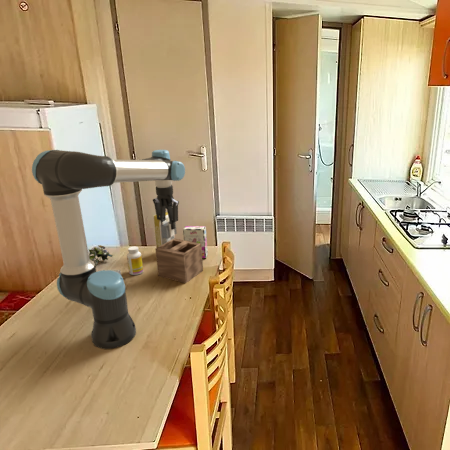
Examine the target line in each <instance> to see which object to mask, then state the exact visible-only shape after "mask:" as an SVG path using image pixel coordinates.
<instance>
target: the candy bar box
mask: <svg viewBox="0 0 450 450" xmlns="http://www.w3.org/2000/svg"><path fill="white" fill-rule="evenodd" d="M182 231H183V233H182V235H183V240H185V241H190V242H195V243H200V244H201V246H202V258H206V257H207V258H208V256H209V255H208V253H209V252H208V238H207V226H206V225H205V226H204V225H203V226H200V225H195V226H193V225H186V226H184V227H183V228H182ZM207 255H208V256H207ZM207 258H206V259H207Z"/></svg>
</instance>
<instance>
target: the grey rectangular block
mask: <svg viewBox="0 0 450 450" xmlns="http://www.w3.org/2000/svg"><path fill="white" fill-rule="evenodd" d="M169 222H170V221H169ZM169 222H167V223H165V224H163V225H161V232H162V238H166V239H168V238H170V233H169V224H168V223H169ZM176 223H177V221H176V222H175V229H174V232H175V235H176V234H178V232H177V224H176Z"/></svg>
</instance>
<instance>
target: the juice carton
mask: <svg viewBox="0 0 450 450" xmlns="http://www.w3.org/2000/svg"><path fill="white" fill-rule="evenodd" d="M152 220H153V231H154V240H155V241H154V242H155V247H156V248H157V247H159V246H161V245H163V244H165V243H167V242H168V241H170V240H172V239H174V238H175V235H174V236H172V237H170V238H168V239H166V238H162V232H161V221H160V220H157V216H156V214H153V216H152ZM166 220H167V222H169V216H168V212H167V211H166ZM156 248H155V249H156Z"/></svg>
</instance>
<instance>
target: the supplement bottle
mask: <svg viewBox="0 0 450 450" xmlns="http://www.w3.org/2000/svg"><path fill="white" fill-rule="evenodd" d="M127 251H128V253H126V258H127V266H128V273H129V275H132V276H139V275H141V274H142V273H144V265H143V258H142V257H143V256H142V253H141V251H139V247H138V246H129V247H128V248H127Z"/></svg>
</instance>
